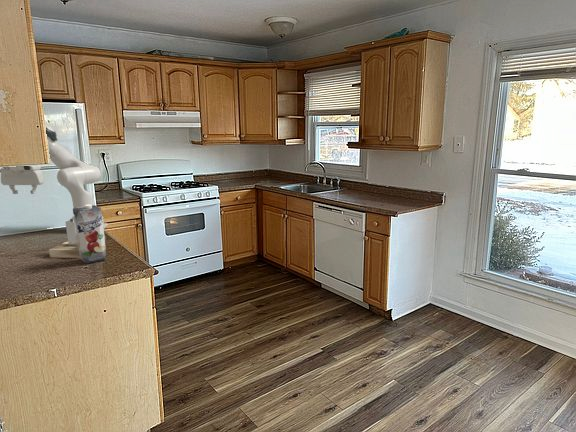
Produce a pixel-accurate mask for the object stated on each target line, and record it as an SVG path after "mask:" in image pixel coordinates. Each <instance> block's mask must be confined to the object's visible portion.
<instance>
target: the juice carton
mask: <svg viewBox="0 0 576 432" xmlns="http://www.w3.org/2000/svg"><path fill="white" fill-rule="evenodd" d="M101 210H102V208H101V207H100V206H98V205H96V204H95V205H94V204H93V205H90V204H88V205H85V207H76V208H74V213H75V224H76V232H77V240H78V247H79V254H80V257H81V258H80V259H81V261H82V262H83V263H84V264H85V265H89V264H95V263H99V262H102V261H103V262H104V261H105V260H106V256H107V255H106V254H107V251H106V250H107V249H106V238H105V239H104V231H105V229H104V230H103V222H104V220H103V221H102V216H103V215H102V211H101Z"/></svg>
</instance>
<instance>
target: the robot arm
mask: <svg viewBox="0 0 576 432" xmlns="http://www.w3.org/2000/svg"><path fill="white" fill-rule="evenodd" d="M45 126H46V134H47V140H48V149H49V154H50V158H49V160H50V159H51V160H50V162H52V163H53V164H54V165H55V166H56V167H57V168H58V169H59V170H58V172H57V174H56V180H57V182H58V183H59V184H60V185H61V186H62V187H64V188H65V189H66V190H67V192H68V193H69V194H70V197H71V201H72V206H73V207H72V214H73V216H72V218H74V219H75V213H74V208H76V207H85V205H88V204H90V205H94V199H93V198H94V197H93V194H92V193H91V192H90V191H88V190H86V189H85V188H84V185H91V184H94V183H97V182H99V181H100V180H101V178H102V172H101V170H100V169H99V167H97V166H94V165H91V164H88V163H86V162H84V161H82V160H80V159H78V158H76V157H75V156H74V154H72V153H71V152H70V151H69V150H67V148H65V147H64V146H62V145H61V144H59V143H57V142H56V141H58V138H57V133H56V130H54V128H53V127H52V126H50V125H47V124H45ZM41 169H42V166H41V165H40V164H38V165H33V166H16V167H8V166H6V167H4V166H2V167H1V168H0V183H1V184H2V186H9V189H10V190H11V191H12V195H17V194H19V193H18V191H19V190H18V189H16V186H31V188H32V189H30V194H31V195H35V194H36V193H37V191H36V190H37V188H38V186H41V185H43V184H44V183H45V178H44V175H43V170H41ZM72 218H71V219H72ZM108 225H109V223H107V222H104V229H105V228H106V227H107V226H108Z"/></svg>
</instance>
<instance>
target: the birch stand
mask: <svg viewBox="0 0 576 432" xmlns="http://www.w3.org/2000/svg"><path fill="white" fill-rule="evenodd" d="M48 252H49V258H61V259H62V258H63V259H64V258H67V259H68V258H71V259H72V258H74V259H79V258H80V259H81V257H80V254H79V247H78V241H77V242H76V245H68V240H66V241H64V242H62V243H60V244H58V245H56V246H53V247H52V248H49V249H48Z"/></svg>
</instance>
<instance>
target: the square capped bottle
mask: <svg viewBox="0 0 576 432" xmlns="http://www.w3.org/2000/svg"><path fill="white" fill-rule="evenodd" d="M65 229H66V230H65V231H66V235H67V236H66V237H67V241H68V245H76V242H77V241H78V240H77V232H76V224H75V219H74V218H70V219H69V220H67V221H65Z"/></svg>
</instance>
